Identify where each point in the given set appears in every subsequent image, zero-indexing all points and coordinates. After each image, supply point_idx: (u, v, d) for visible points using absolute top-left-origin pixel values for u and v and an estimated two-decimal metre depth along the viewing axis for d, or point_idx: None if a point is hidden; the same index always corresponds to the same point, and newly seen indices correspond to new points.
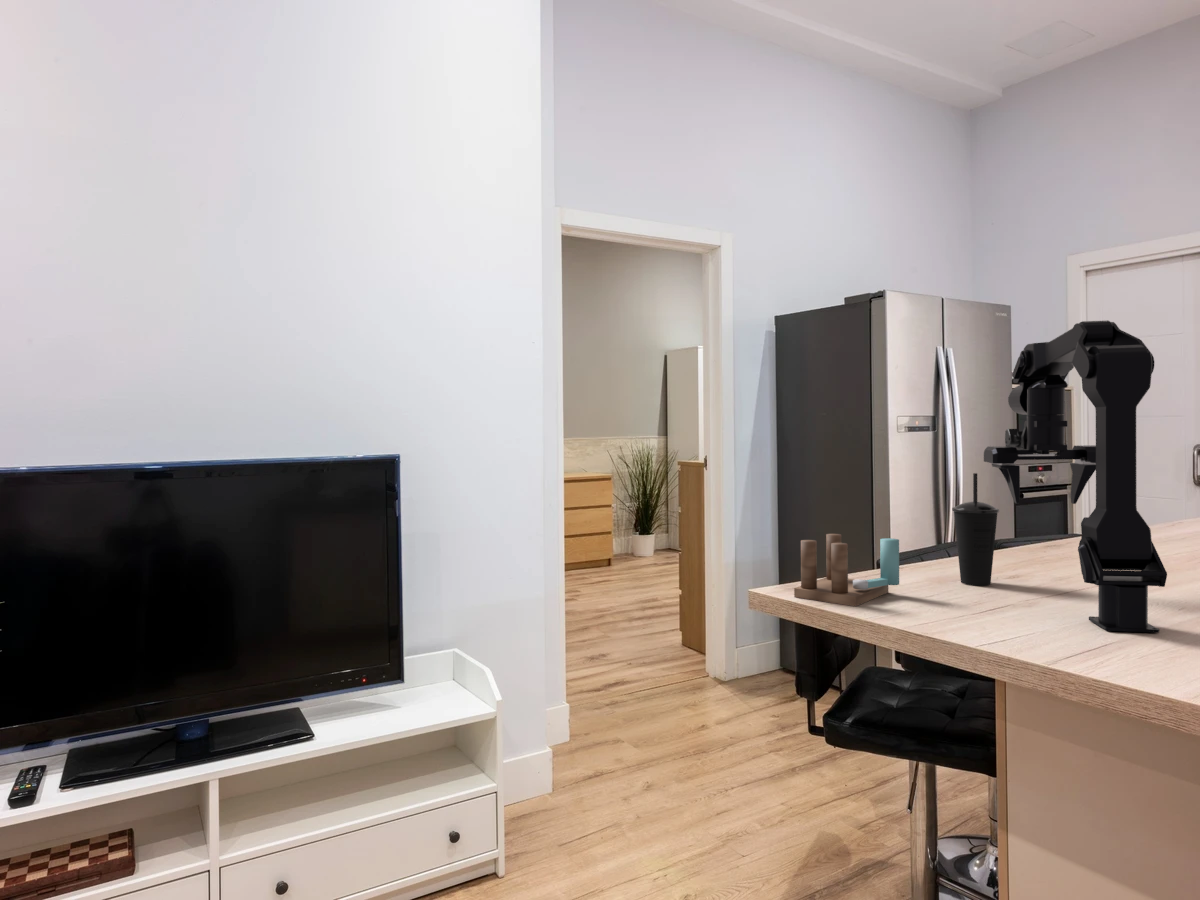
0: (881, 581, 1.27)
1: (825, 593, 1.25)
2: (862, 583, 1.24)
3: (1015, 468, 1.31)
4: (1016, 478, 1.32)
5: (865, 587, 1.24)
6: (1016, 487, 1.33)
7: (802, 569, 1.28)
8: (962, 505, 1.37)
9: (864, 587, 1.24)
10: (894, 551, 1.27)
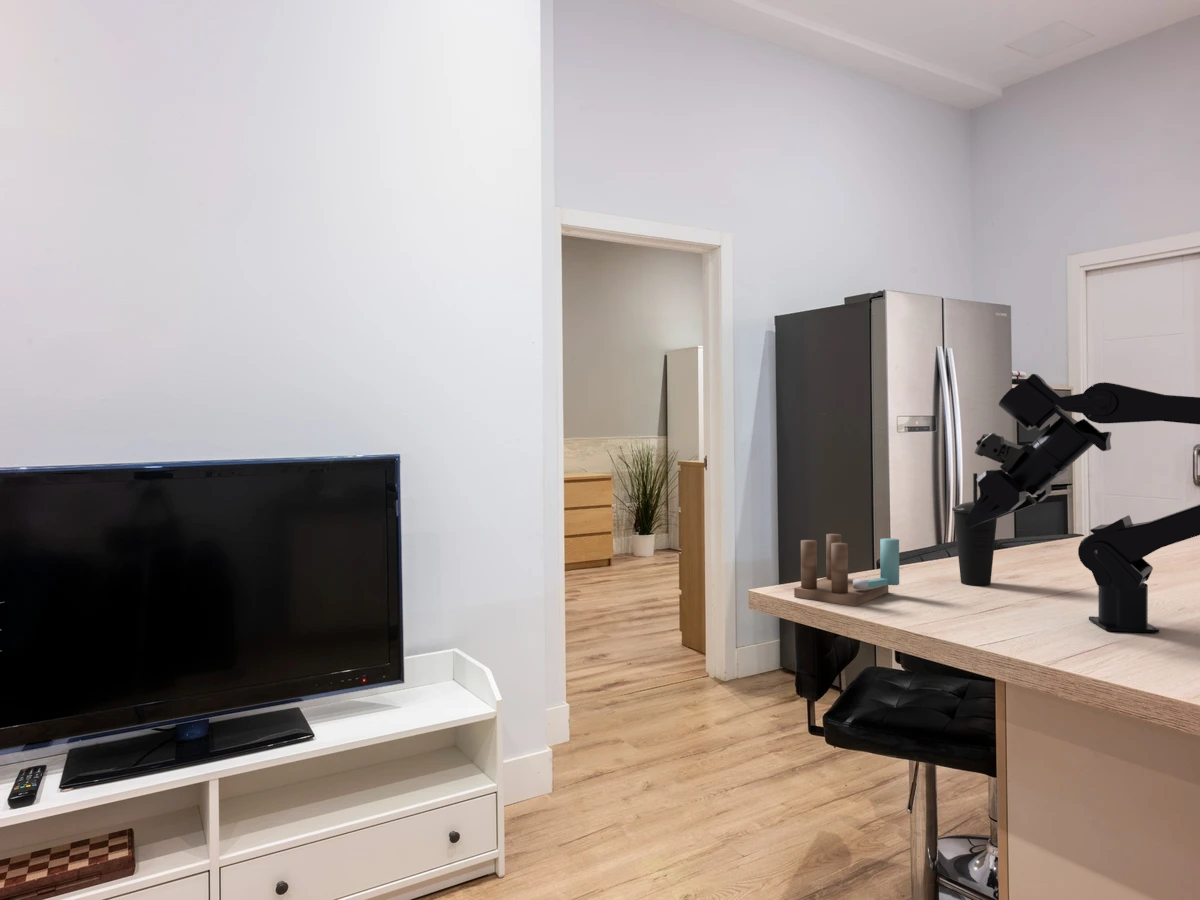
0: (881, 581, 1.27)
1: (825, 593, 1.25)
2: (862, 583, 1.24)
3: (1010, 511, 1.11)
4: (998, 516, 1.13)
5: (865, 587, 1.24)
6: (987, 520, 1.14)
7: (802, 569, 1.28)
8: (962, 505, 1.37)
9: (864, 587, 1.24)
10: (894, 551, 1.27)
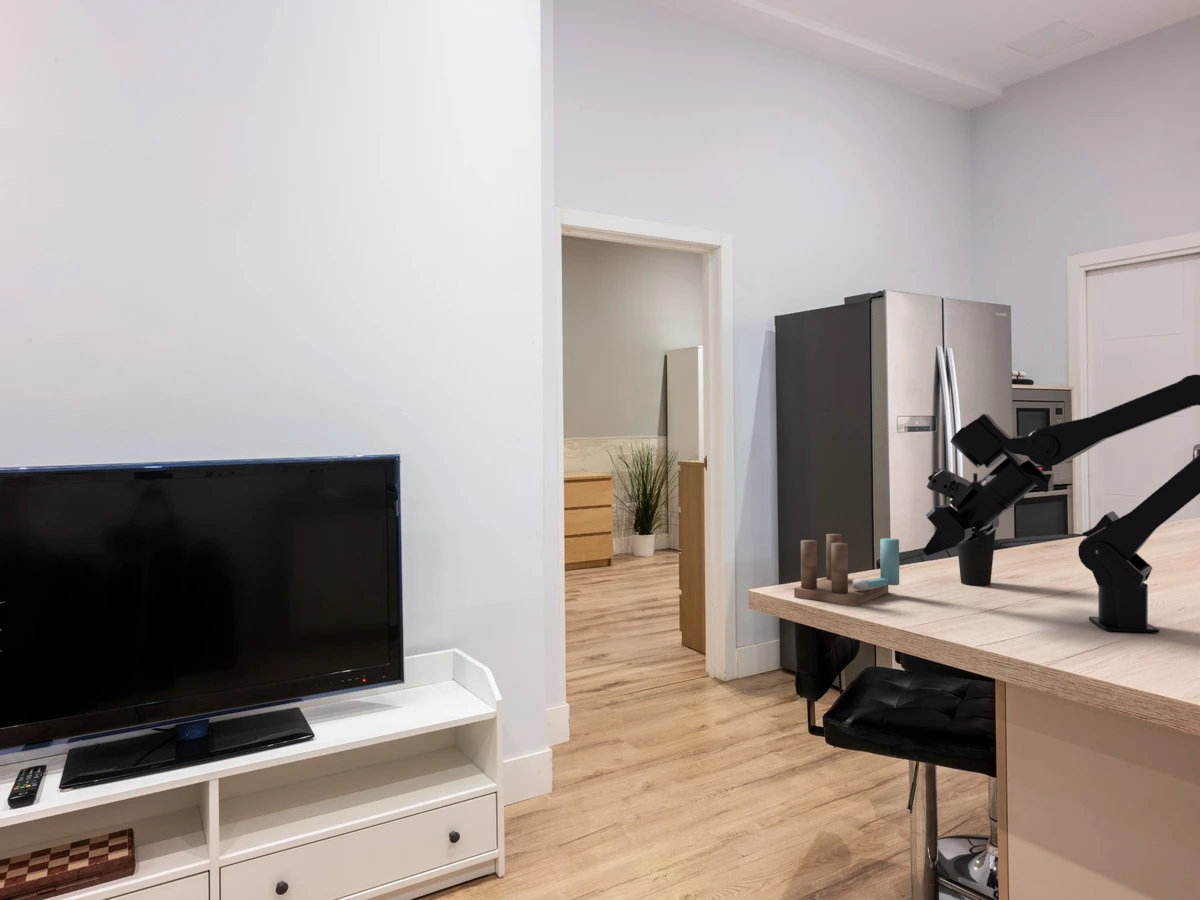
0: (881, 581, 1.27)
1: (825, 593, 1.25)
2: (862, 583, 1.24)
3: None
4: None
5: (865, 587, 1.24)
6: (944, 549, 1.22)
7: (802, 569, 1.28)
8: None
9: (864, 587, 1.24)
10: (894, 551, 1.27)
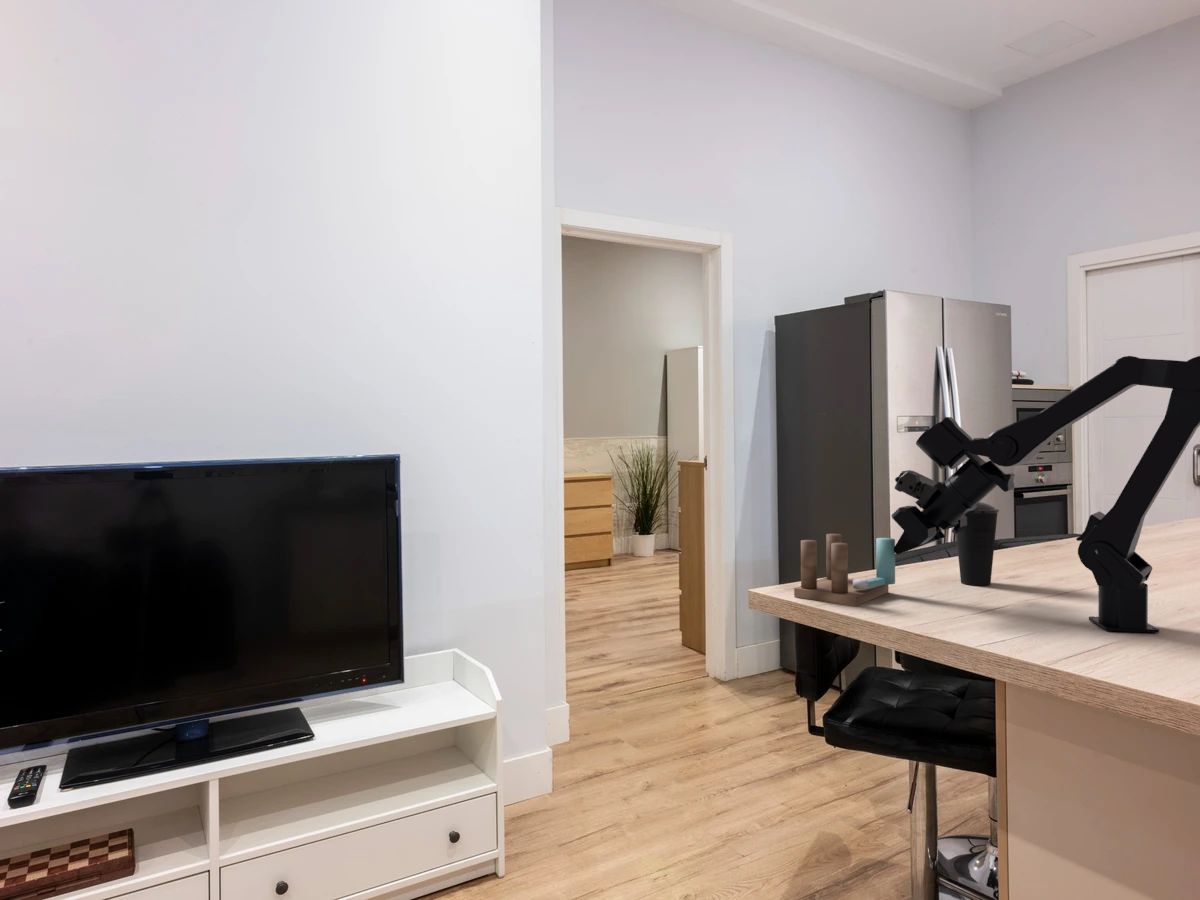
0: (879, 580, 1.27)
1: (825, 593, 1.25)
2: (863, 583, 1.24)
3: (932, 541, 1.23)
4: (922, 545, 1.24)
5: (866, 587, 1.24)
6: (913, 548, 1.26)
7: (802, 569, 1.28)
8: None
9: (865, 587, 1.24)
10: (890, 551, 1.28)
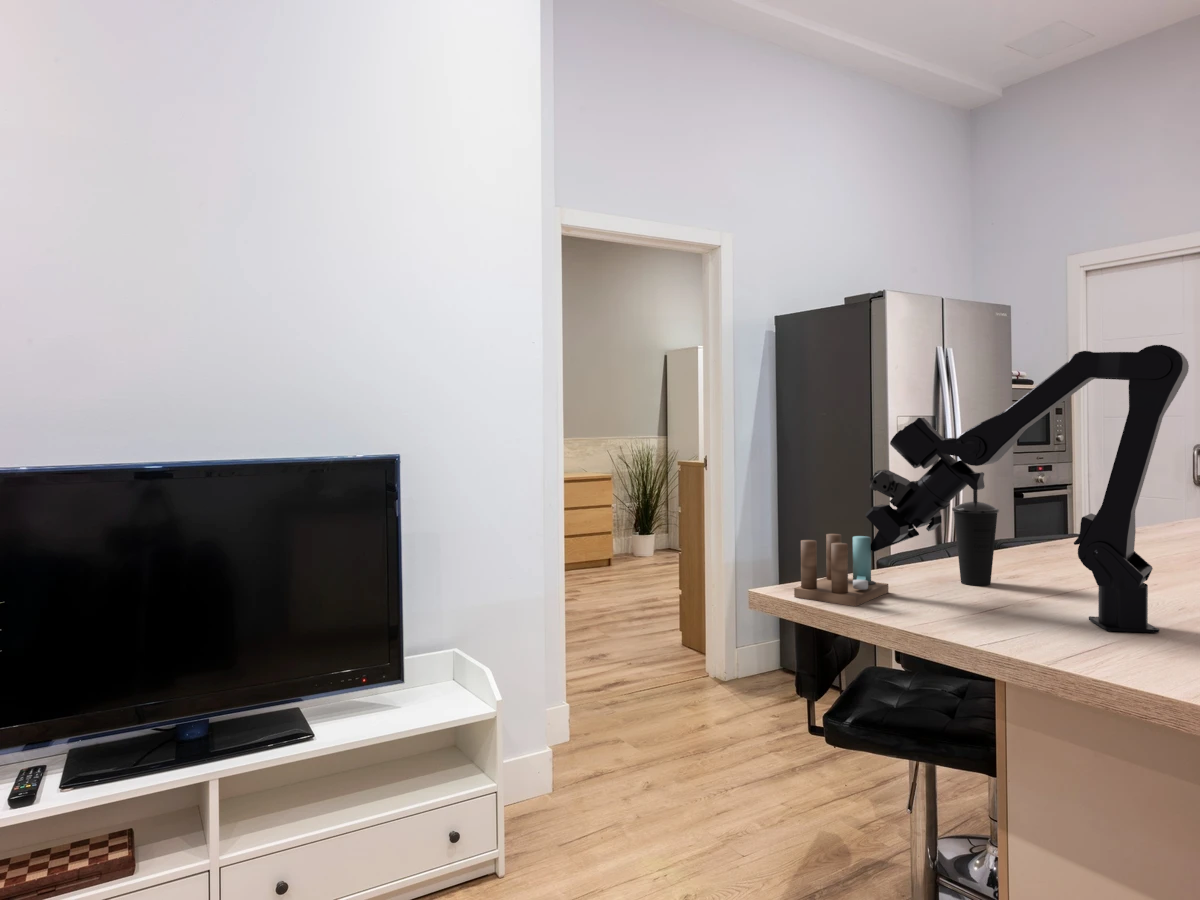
0: None
1: (825, 593, 1.25)
2: (866, 583, 1.24)
3: None
4: None
5: None
6: (888, 546, 1.29)
7: (802, 569, 1.28)
8: (962, 505, 1.37)
9: (867, 586, 1.25)
10: (870, 548, 1.31)
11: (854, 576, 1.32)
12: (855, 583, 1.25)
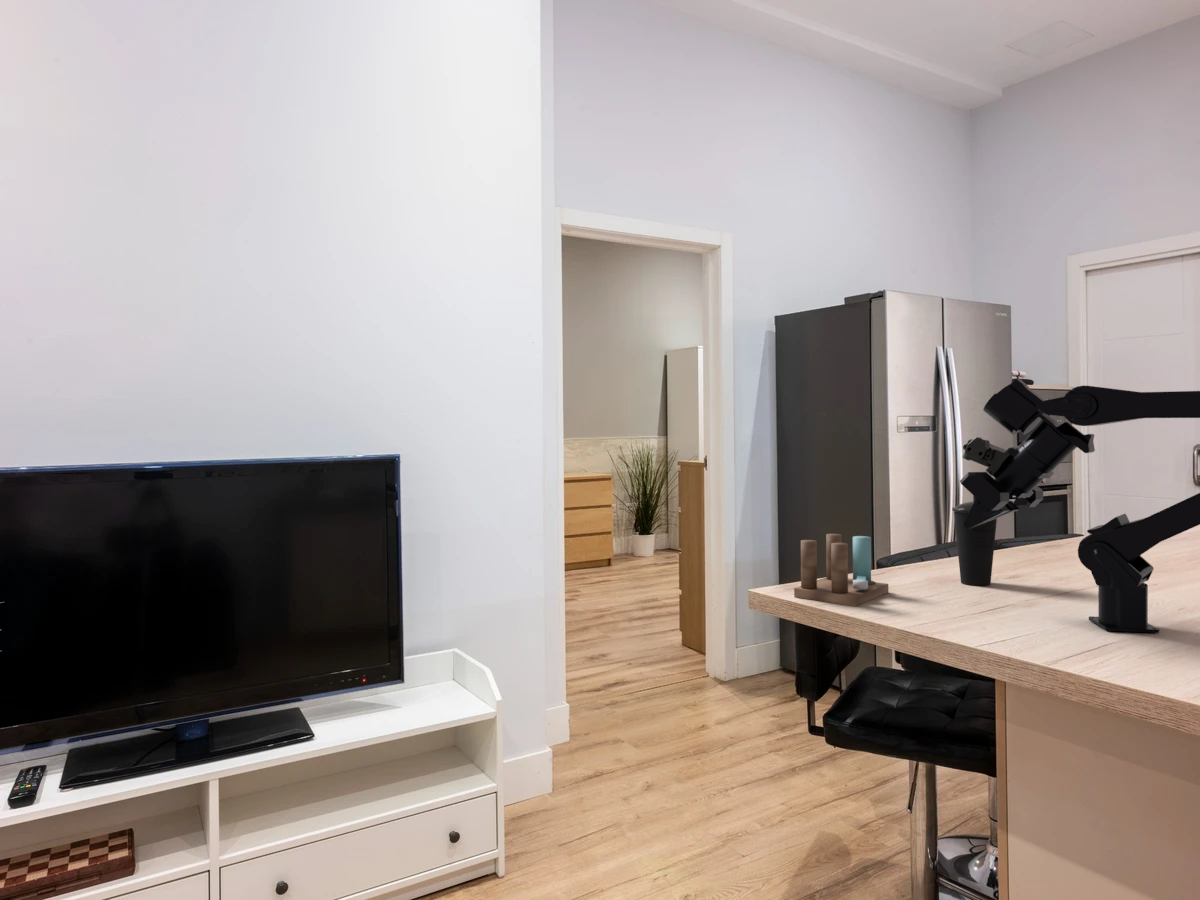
0: None
1: (825, 593, 1.25)
2: (866, 583, 1.24)
3: (1005, 512, 1.15)
4: (994, 517, 1.17)
5: None
6: (984, 521, 1.18)
7: (802, 569, 1.28)
8: (962, 505, 1.37)
9: (867, 586, 1.25)
10: (870, 548, 1.31)
11: (854, 576, 1.32)
12: (855, 583, 1.25)
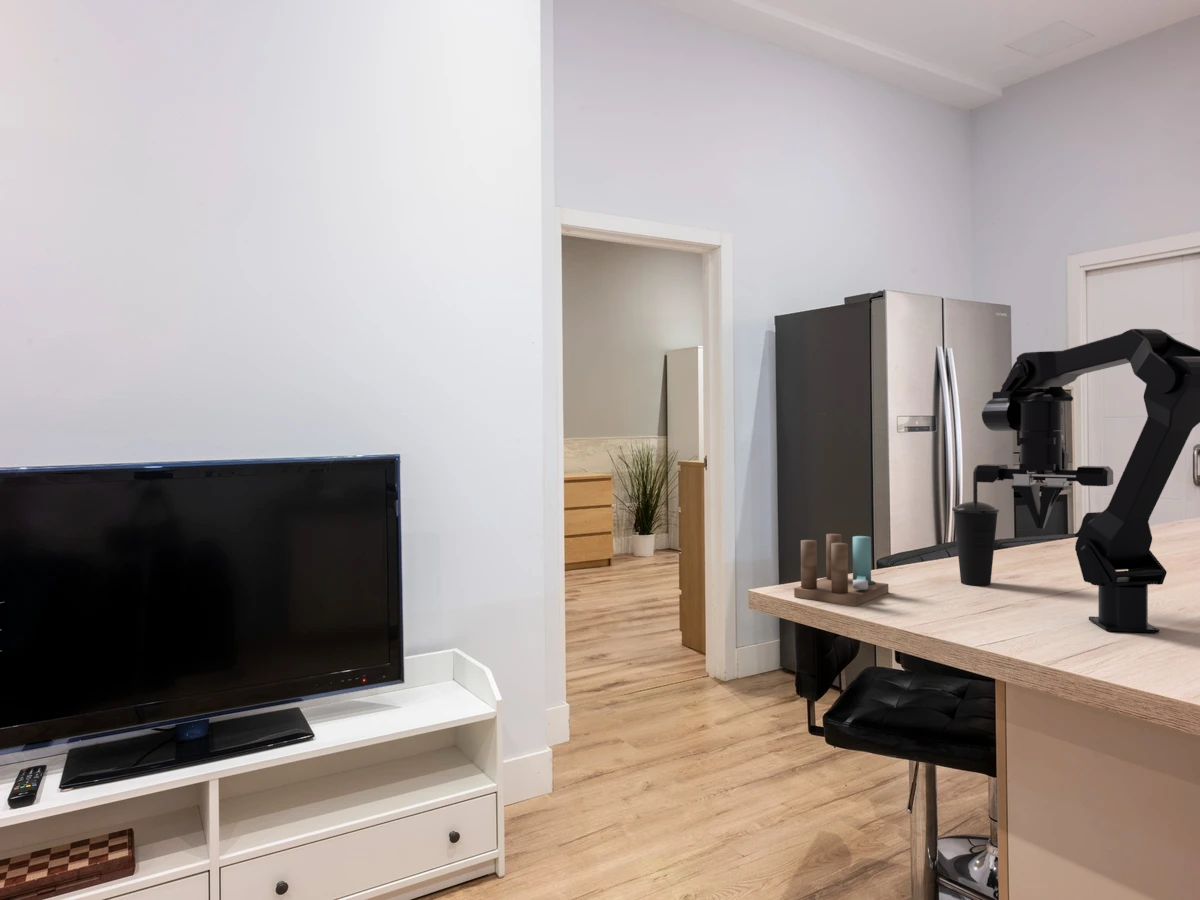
0: None
1: (825, 593, 1.25)
2: (866, 583, 1.24)
3: (1026, 489, 1.20)
4: (1030, 500, 1.20)
5: None
6: (1032, 510, 1.20)
7: (802, 569, 1.28)
8: (962, 505, 1.37)
9: (867, 586, 1.25)
10: (870, 548, 1.31)
11: (854, 576, 1.32)
12: (855, 583, 1.25)
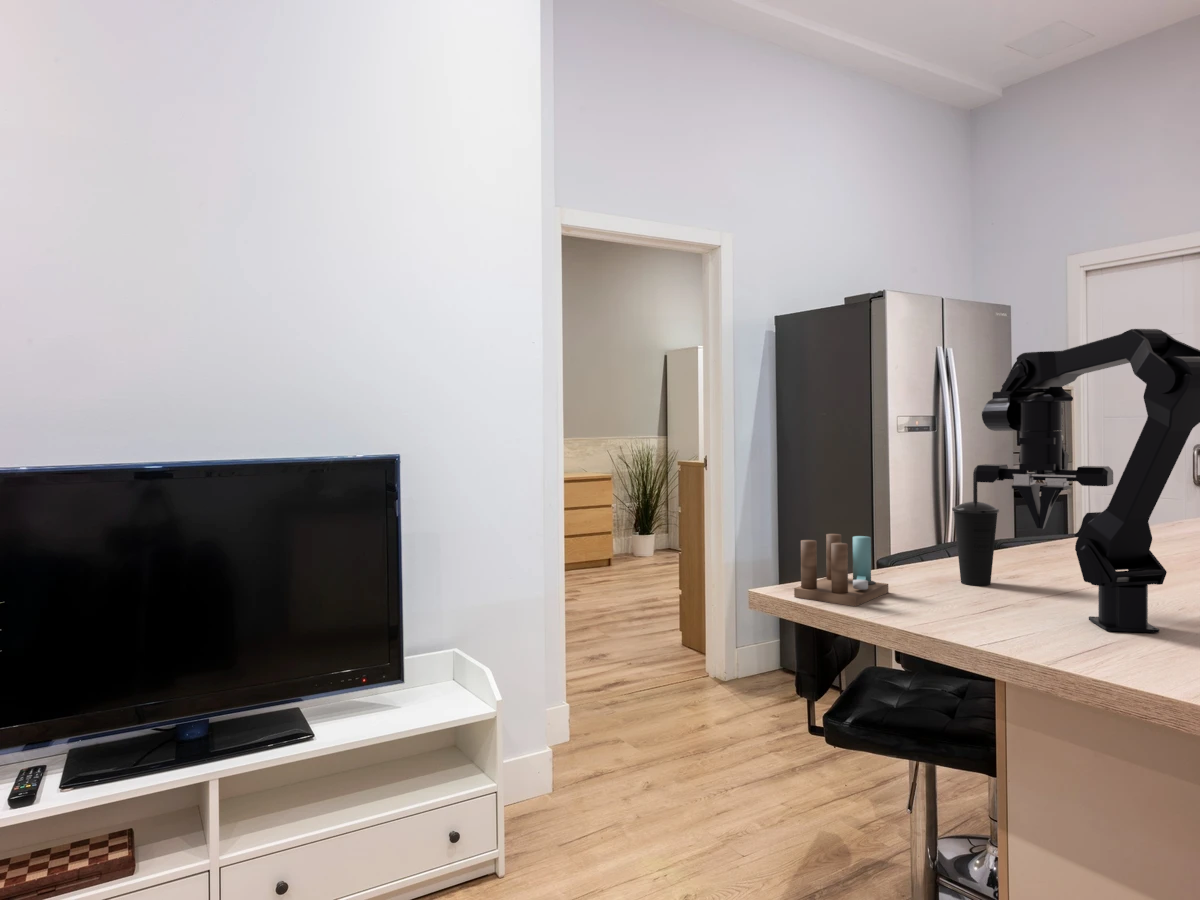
0: None
1: (825, 593, 1.25)
2: (866, 583, 1.24)
3: (1026, 489, 1.20)
4: (1030, 500, 1.20)
5: None
6: (1032, 510, 1.20)
7: (802, 569, 1.28)
8: (962, 505, 1.37)
9: (867, 586, 1.25)
10: (870, 548, 1.31)
11: (854, 576, 1.32)
12: (855, 583, 1.25)
